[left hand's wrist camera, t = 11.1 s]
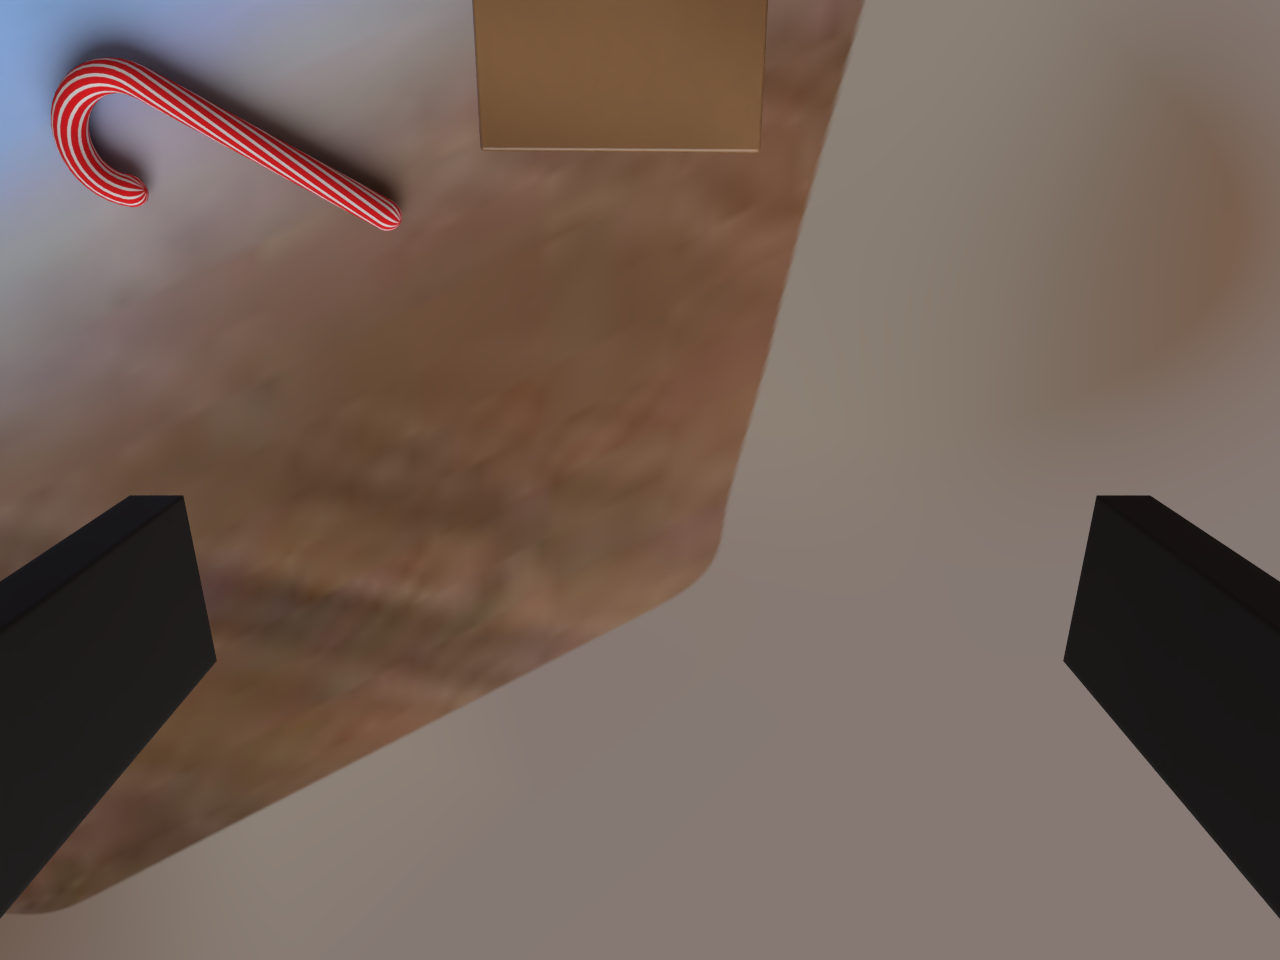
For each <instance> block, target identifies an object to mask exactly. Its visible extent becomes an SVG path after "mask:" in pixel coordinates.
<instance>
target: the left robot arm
mask: <svg viewBox="0 0 1280 960" xmlns="http://www.w3.org/2000/svg"><path fill="white" fill-rule="evenodd" d="M216 661H217V660H216V655H215V650H214V645H213V640H212V635H211V630H210V625H209V620H208V616H207V611H206V606H205V601H204V596H203V591H202V586H201V581H200V576H199V571H198V566H197V561H196V556H195V551H194V546H193V541H192V536H191V531H190V526H189V521H188V517H187V512H186V507H185V502H184V497H183V496H129V497H127V498H126V499H124V500H123V501H121V502H120V503H118V504H116V505H115V506H113V507H112V508H110V509H109V510H107V511H106V512H104V513H103V514H101V515H100V516H98V517H97V518H95V519H94V520H92V521H91V522H89V523H88V524H86V525H85V526H83V527H82V528H80V529H79V530H77V531H76V532H74V533H73V534H71V535H70V536H68V537H67V538H65V539H64V540H62V541H61V542H59V543H58V544H56V545H55V546H53V547H52V548H50V549H49V550H47V551H46V552H44V553H43V554H41V555H40V556H38V557H37V558H35V559H34V560H32V561H31V562H29V563H28V564H26V565H25V566H23V567H22V568H20V569H19V570H17V571H16V572H14V573H13V574H11V575H10V576H8V577H7V578H5V579H4V580H2V581H1V582H0V918H1V917H2V916H3V915H4V913H5V912H6V911H7V910H8V909H9V907H10V906H11V905H12V904H13V903H14V902H15V900H16V899H17V898H18V897H19V896H20V894H21V893H22V892H23V891H24V890H25V888H26V887H27V886H28V885H29V884H30V882H31V881H32V880H33V879H34V878H35V877H36V875H37V874H38V873H39V872H40V871H41V869H42V868H43V867H44V866H45V865H46V863H47V862H48V861H49V860H50V859H51V857H52V856H53V855H54V854H55V853H56V852H57V850H58V849H59V848H60V847H61V846H62V844H63V843H64V842H65V841H66V840H67V838H68V837H69V836H70V835H71V834H72V832H73V831H74V830H75V829H76V828H77V827H78V825H79V824H80V823H81V822H82V821H83V819H84V818H85V817H86V816H87V815H88V813H89V812H90V811H91V810H92V809H93V807H94V806H95V805H96V804H97V803H98V802H99V800H100V799H101V798H102V797H103V796H104V794H105V793H106V792H107V791H108V790H109V788H110V787H111V786H112V785H113V784H114V782H115V781H116V780H117V779H118V778H119V777H120V775H121V774H122V773H123V772H124V771H125V769H126V768H127V767H128V766H129V765H130V763H131V762H132V761H133V760H134V759H135V757H136V756H137V755H138V754H139V753H140V752H141V750H142V749H143V748H144V747H145V746H146V744H147V743H148V742H149V741H150V740H151V738H152V737H153V736H154V735H155V734H156V732H157V731H158V730H159V729H160V728H161V727H162V725H163V724H164V723H165V722H166V721H167V719H168V718H169V717H170V716H171V715H172V713H173V712H174V711H175V710H176V709H177V707H178V706H179V705H180V704H181V703H182V702H183V700H184V699H185V698H186V697H187V696H188V694H189V693H190V692H191V691H192V690H193V688H194V687H195V686H196V685H197V684H198V682H199V681H200V680H201V679H202V678H203V677H204V675H205V674H206V673H207V672H208V671H209V669H210V668H211V667H212V666H213V665H214V663H215V662H216ZM1063 661H1064V662H1065V663H1066V665H1067V666H1068V667H1069V668H1070V669H1071V671H1072V672H1073V673H1074V674H1075V675H1076V677H1077V678H1078V679H1079V680H1080V681H1081V682H1082V684H1083V685H1084V686H1085V687H1086V688H1087V690H1088V691H1089V692H1090V693H1091V694H1092V695H1093V697H1094V698H1095V699H1096V700H1097V702H1098V703H1099V704H1100V705H1101V706H1102V707H1103V709H1104V710H1105V711H1106V712H1107V713H1108V715H1109V716H1110V717H1111V718H1112V719H1113V721H1114V722H1115V723H1116V724H1117V725H1118V726H1119V728H1120V729H1121V730H1122V731H1123V732H1124V734H1125V735H1126V736H1127V737H1128V738H1129V740H1130V741H1131V742H1132V743H1133V744H1134V746H1135V747H1136V748H1137V749H1138V750H1139V752H1140V753H1141V754H1142V755H1143V756H1144V757H1145V759H1146V760H1147V761H1148V762H1149V763H1150V765H1151V766H1152V767H1153V768H1154V769H1155V771H1156V772H1157V773H1158V774H1159V775H1160V777H1161V778H1162V779H1163V780H1164V781H1165V782H1166V784H1167V785H1168V786H1169V787H1170V788H1171V790H1172V791H1173V792H1174V793H1175V794H1176V796H1177V797H1178V798H1179V799H1180V800H1181V802H1182V803H1183V804H1184V805H1185V806H1186V807H1187V809H1188V810H1189V811H1190V812H1191V813H1192V815H1193V816H1194V817H1195V818H1196V819H1197V821H1198V822H1199V823H1200V824H1201V825H1202V827H1203V828H1204V829H1205V830H1206V831H1207V832H1208V834H1209V835H1210V836H1211V837H1212V838H1213V840H1214V841H1215V842H1216V843H1217V844H1218V846H1219V847H1220V848H1221V849H1222V850H1223V852H1224V853H1225V854H1226V855H1227V856H1228V857H1229V859H1230V860H1231V861H1232V862H1233V863H1234V865H1235V866H1236V867H1237V868H1238V869H1239V871H1240V872H1241V873H1242V874H1243V875H1244V877H1245V878H1246V879H1247V880H1248V881H1249V882H1250V884H1251V885H1252V886H1253V887H1254V888H1255V890H1256V891H1257V892H1258V893H1259V894H1260V896H1261V897H1262V898H1263V899H1264V900H1265V901H1266V903H1267V904H1268V905H1269V906H1270V907H1271V909H1272V910H1273V911H1274V912H1275V913H1276V915H1277V916H1278V917H1279V918H1280V582H1279V581H1278V580H1276V579H1275V578H1273V577H1272V576H1270V575H1269V574H1267V573H1266V572H1264V571H1263V570H1261V569H1260V568H1258V567H1257V566H1255V565H1254V564H1252V563H1251V562H1249V561H1248V560H1246V559H1245V558H1243V557H1242V556H1240V555H1239V554H1237V553H1236V552H1234V551H1233V550H1231V549H1230V548H1228V547H1227V546H1225V545H1224V544H1222V543H1221V542H1219V541H1218V540H1216V539H1215V538H1213V537H1212V536H1210V535H1209V534H1207V533H1206V532H1204V531H1203V530H1201V529H1200V528H1198V527H1197V526H1195V525H1194V524H1192V523H1191V522H1189V521H1187V520H1186V519H1185V518H1183V517H1182V516H1180V515H1179V514H1177V513H1175V512H1174V511H1173V510H1171V509H1170V508H1168V507H1166V506H1165V505H1163V504H1162V503H1160V502H1159V501H1157V500H1156V499H1154V498H1153V497H1151V496H1097V497H1096V502H1095V507H1094V512H1093V517H1092V521H1091V527H1090V532H1089V536H1088V541H1087V546H1086V551H1085V556H1084V561H1083V566H1082V571H1081V576H1080V581H1079V586H1078V591H1077V596H1076V601H1075V606H1074V611H1073V616H1072V621H1071V625H1070V630H1069V636H1068V640H1067V645H1066V650H1065V655H1064V660H1063Z"/></svg>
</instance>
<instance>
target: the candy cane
mask: <svg viewBox="0 0 1280 960" xmlns="http://www.w3.org/2000/svg"><path fill="white" fill-rule="evenodd" d="M112 93H123V94H127V95H130V96H132V97H135V98H137V99H138V100H140V101H142V102H144V103H146V104H148V105H150V106H151V107H153V108H155V109H157V110H159V111H161V112H163V113H165V114H166V115H168V116H170V117H172V118H174V119H176V120H178V121H180V122H181V123H183V124H185V125H187V126H189V127H191V128H193V129H194V130H196V131H198V132H200V133H202V134H204V135H206V136H207V137H209V138H211V139H213V140H215V141H217V142H219V143H221V144H222V145H224V146H226V147H228V148H230V149H232V150H234V151H236V152H237V153H239V154H241V155H243V156H245V157H247V158H249V159H250V160H252V161H254V162H256V163H258V164H260V165H262V166H263V167H265V168H267V169H269V170H271V171H273V172H275V173H277V174H278V175H280V176H282V177H284V178H286V179H288V180H290V181H291V182H293V183H295V184H297V185H299V186H301V187H303V188H304V189H306V190H308V191H310V192H312V193H314V194H316V195H318V196H319V197H321V198H323V199H325V200H327V201H329V202H331V203H333V204H334V205H336V206H338V207H340V208H342V209H344V210H346V211H347V212H349V213H351V214H353V215H355V216H357V217H359V218H360V219H362V220H364V221H366V222H368V223H370V224H372V225H374V226H376V227H377V228H379V229H382V230H385V231H390V230H393V229H395V228H397V227H398V226H399V225H400V223H401V220H402V212H401V209H400V207H399V206H398V205H397V204H396V203H395V202H394V201H392V200H390V199H388V198H386V197H384V196H383V195H381V194H379V193H377V192H375V191H374V190H372V189H370V188H368V187H366V186H364V185H363V184H361V183H359V182H357V181H355V180H353V179H351V178H350V177H348V176H346V175H344V174H342V173H341V172H339V171H337V170H335V169H333V168H331V167H329V166H328V165H326V164H324V163H322V162H320V161H318V160H317V159H315V158H313V157H311V156H309V155H307V154H305V153H304V152H302V151H300V150H298V149H296V148H294V147H293V146H291V145H289V144H287V143H285V142H283V141H282V140H280V139H278V138H276V137H274V136H272V135H270V134H269V133H267V132H265V131H263V130H261V129H260V128H258V127H256V126H254V125H252V124H250V123H248V122H247V121H245V120H243V119H241V118H239V117H237V116H235V115H234V114H232V113H230V112H228V111H226V110H225V109H223V108H221V107H219V106H217V105H215V104H213V103H211V102H210V101H208V100H206V99H204V98H202V97H201V96H199V95H197V94H195V93H193V92H191V91H190V90H188V89H186V88H184V87H182V86H180V85H178V84H177V83H175V82H173V81H171V80H169V79H167V78H166V77H164V76H162V75H160V74H158V73H156V72H154V71H153V70H151V69H149V68H147V67H145V66H143V65H140V64H138V63H135V62H133V61H129V60H125V59H121V58H109V57H107V58H97V59H93V60H90V61H87V62H84V63H82V64H81V65H79V66H77V67H75V68H74V69H73V70H72V71H70V72H69V73H68V74H67V75H66V76H65V77H64V79H63V80H62V81H61V83H60V84H59V86H58V88H57V90H56V92H55V96H54V99H53V102H52V109H51V127H52V132H53V137H54V140H55V143H56V146H57V149H58V151H59V153H60V155H61V157H62V159H63V161H64V162H65V164H66V165H67V167H68V168H69V170H70V171H71V172H72V173H73V174H74V176H75V177H76V178H77V179H78V180H79V181H80V182H81V183H82V184H83V185H85V186H86V187H87V188H88V189H89V190H91V191H92V192H94V193H95V194H97V195H98V196H100V197H102V198H104V199H106V200H108V201H111V202H114V203H117V204H120V205H125V206H130V207H138V206H141V205H143V204H145V203H146V201H147V200H148V197H149V193H148V189H147V187H146V185H145V184H144V183H143V182H142V181H141V180H140V179H139V178H138V177H136V176H134V175H130V174H125V173H122V172H119V171H117V170H115V169H113V168H112V167H110V166H109V165H108V164H107V163H106V162H105V161H103V159H102V158H101V157H100V156H99V154H98V153H97V151H96V150H95V148H94V146H93V143H92V141H91V137H90V133H89V118H90V113H91V111H92V109H93V107H94V105H95V104H96V103H97V101H98V100H99V99H101V98H102V97H104V96H106V95H108V94H112Z"/></svg>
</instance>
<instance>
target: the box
mask: <svg viewBox="0 0 1280 960" xmlns="http://www.w3.org/2000/svg"><path fill="white" fill-rule="evenodd" d="M472 4H473V22H474V40H475V58H476V76H477V93H478V111H479V129H480V147H481V149H482V150H484V151H580V152H727V153H757V152H759V150H760V141H761V122H762V103H763V84H764V65H765V46H766V27H767V8H768V0H472Z"/></svg>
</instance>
